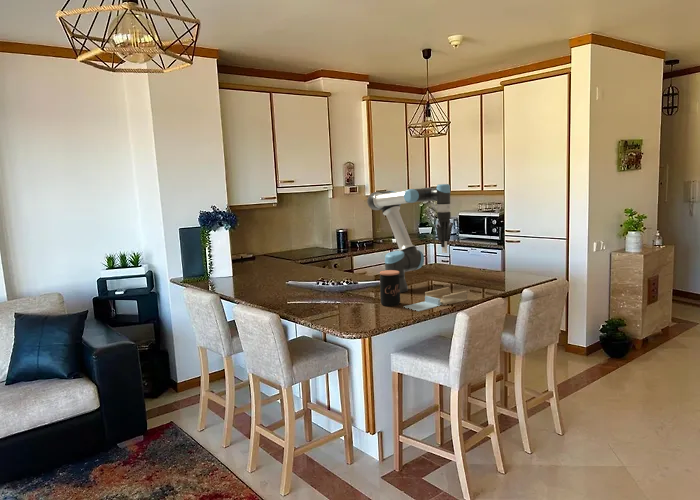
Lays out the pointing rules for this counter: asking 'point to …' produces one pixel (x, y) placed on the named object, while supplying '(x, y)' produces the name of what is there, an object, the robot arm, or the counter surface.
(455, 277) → the counter surface
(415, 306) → the cover plate
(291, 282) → the counter surface
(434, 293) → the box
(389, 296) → the coffee jar
